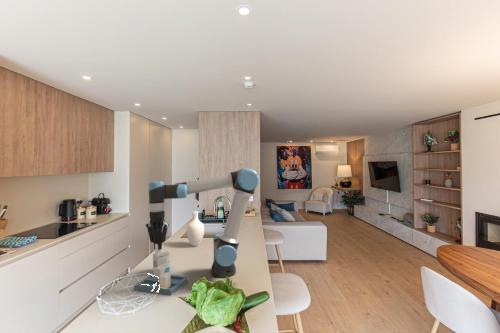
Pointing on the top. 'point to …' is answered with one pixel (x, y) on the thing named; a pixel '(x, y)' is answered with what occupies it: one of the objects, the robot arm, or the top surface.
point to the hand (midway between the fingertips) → (158, 255)
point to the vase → (195, 230)
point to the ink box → (162, 261)
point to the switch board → (176, 283)
